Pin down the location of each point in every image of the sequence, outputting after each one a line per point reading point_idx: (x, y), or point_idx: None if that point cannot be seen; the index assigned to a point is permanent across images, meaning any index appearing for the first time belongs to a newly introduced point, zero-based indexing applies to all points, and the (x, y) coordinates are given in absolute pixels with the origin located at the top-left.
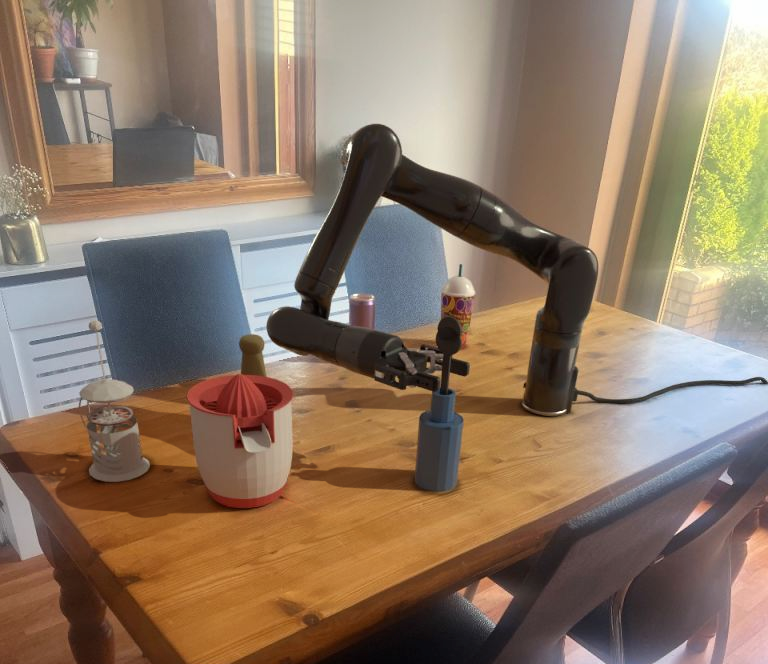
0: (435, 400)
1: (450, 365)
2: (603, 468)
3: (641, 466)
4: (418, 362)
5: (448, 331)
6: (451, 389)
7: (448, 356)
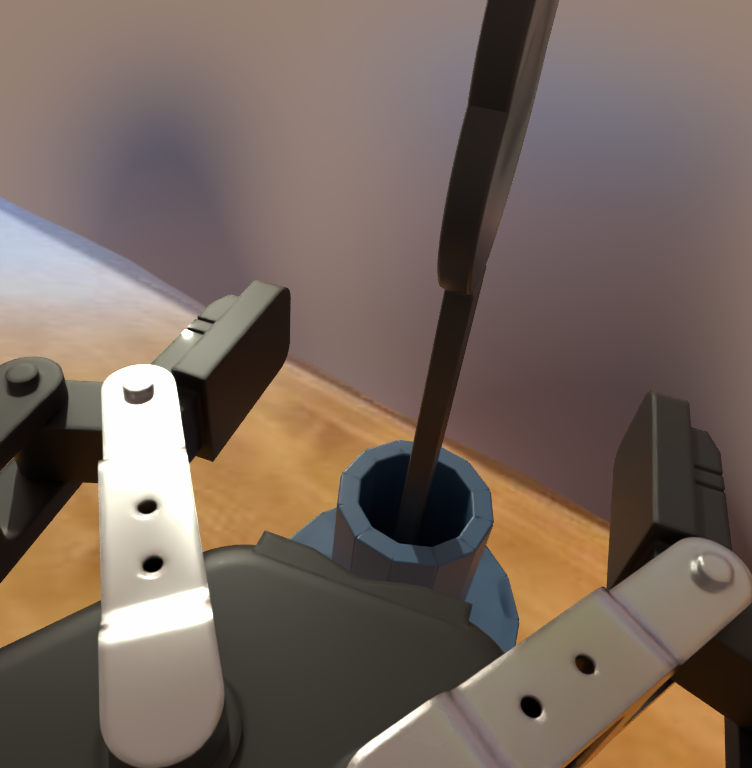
0: (476, 559)
1: (224, 399)
2: (125, 328)
3: (104, 274)
4: (404, 589)
5: (538, 42)
6: (358, 463)
7: (482, 275)
